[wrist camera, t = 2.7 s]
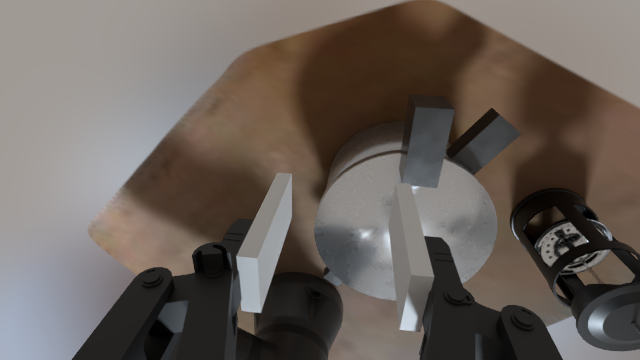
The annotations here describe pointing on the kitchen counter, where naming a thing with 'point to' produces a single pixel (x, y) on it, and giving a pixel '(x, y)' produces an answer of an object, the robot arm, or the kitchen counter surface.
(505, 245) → the kitchen counter surface
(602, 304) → the french press
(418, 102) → the lid
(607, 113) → the kitchen counter surface
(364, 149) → the pressure cooker pot
